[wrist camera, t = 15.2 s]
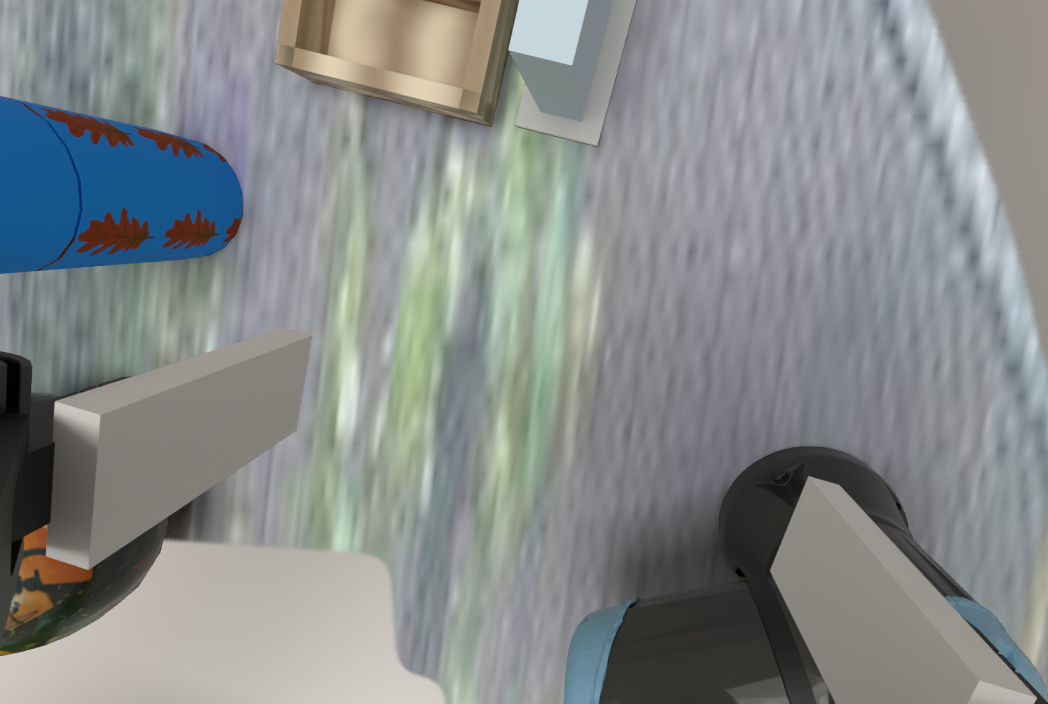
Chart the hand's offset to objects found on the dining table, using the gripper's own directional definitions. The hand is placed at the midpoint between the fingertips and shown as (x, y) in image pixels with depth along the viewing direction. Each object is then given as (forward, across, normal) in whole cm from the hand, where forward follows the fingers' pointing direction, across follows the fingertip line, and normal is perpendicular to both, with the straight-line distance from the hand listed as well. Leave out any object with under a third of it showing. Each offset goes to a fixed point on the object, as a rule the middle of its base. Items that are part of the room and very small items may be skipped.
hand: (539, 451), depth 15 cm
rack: (+37, +19, -19) cm, 45 cm away
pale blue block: (+36, +6, -19) cm, 41 cm away
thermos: (+37, +37, +1) cm, 52 cm away
